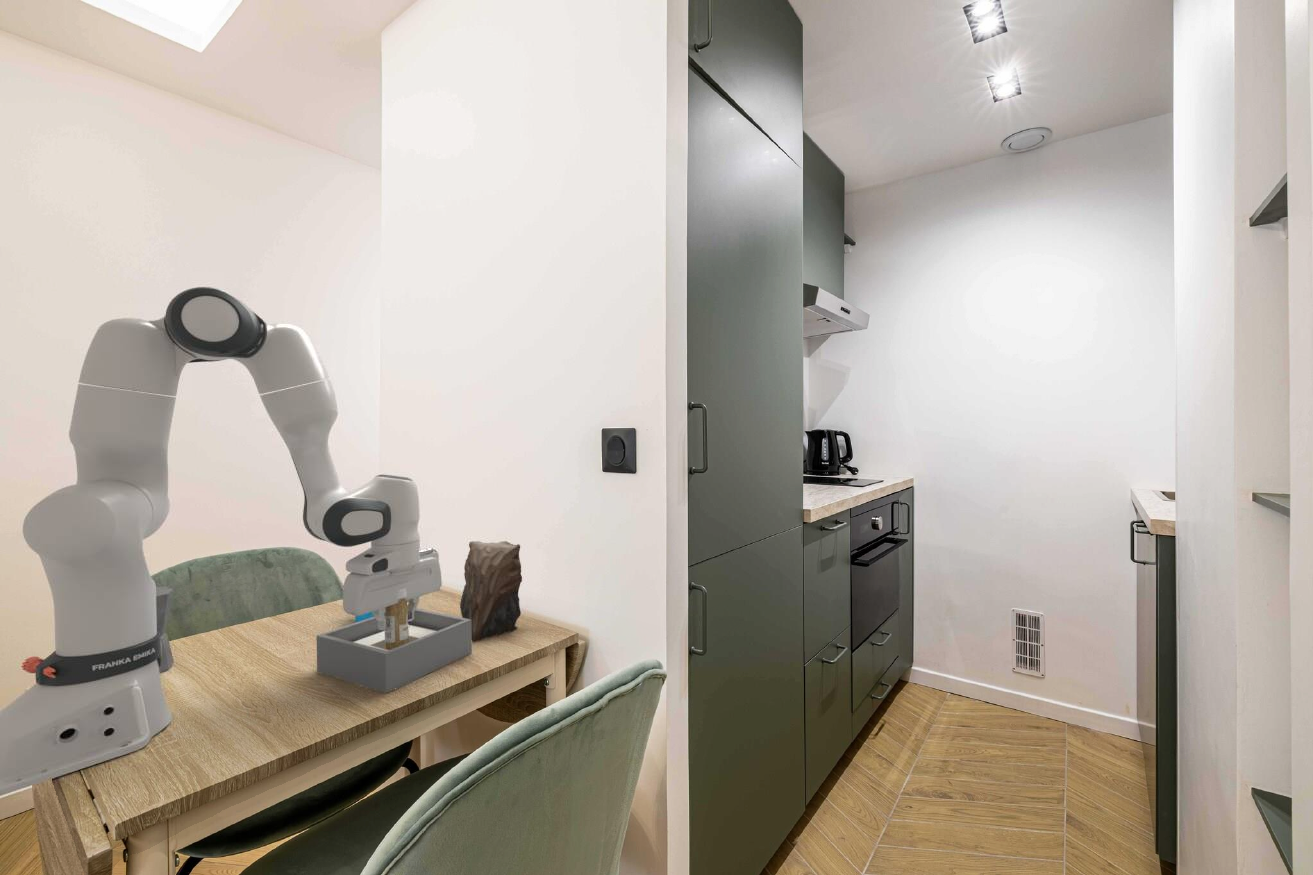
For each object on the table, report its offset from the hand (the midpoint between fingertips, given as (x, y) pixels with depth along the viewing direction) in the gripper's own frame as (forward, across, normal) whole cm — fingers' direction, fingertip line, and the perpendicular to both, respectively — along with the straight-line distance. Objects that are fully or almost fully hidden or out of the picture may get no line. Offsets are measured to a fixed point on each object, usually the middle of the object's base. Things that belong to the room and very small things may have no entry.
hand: (396, 624), depth 111 cm
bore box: (+8, 0, 0) cm, 8 cm away
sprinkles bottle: (+6, 0, 0) cm, 6 cm away
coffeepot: (+8, +26, -40) cm, 48 cm away
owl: (+8, -21, +3) cm, 23 cm away
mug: (+8, -17, -28) cm, 34 cm away
